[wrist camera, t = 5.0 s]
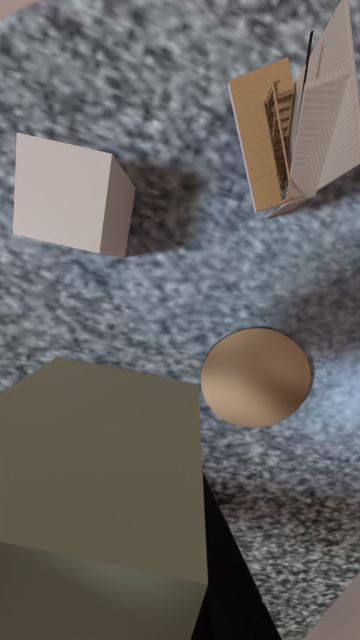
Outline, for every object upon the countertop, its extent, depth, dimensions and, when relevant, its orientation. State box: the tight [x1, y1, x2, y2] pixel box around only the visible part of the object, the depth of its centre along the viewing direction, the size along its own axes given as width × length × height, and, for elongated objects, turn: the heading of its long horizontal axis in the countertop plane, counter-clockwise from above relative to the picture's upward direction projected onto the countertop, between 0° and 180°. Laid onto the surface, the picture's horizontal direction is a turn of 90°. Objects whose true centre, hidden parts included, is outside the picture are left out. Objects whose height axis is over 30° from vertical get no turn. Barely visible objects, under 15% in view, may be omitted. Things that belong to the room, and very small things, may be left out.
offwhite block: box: [13, 133, 136, 258], centre depth 14 cm, size 5×5×5 cm
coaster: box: [201, 327, 311, 428], centre depth 19 cm, size 9×9×1 cm
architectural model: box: [228, 0, 360, 219], centre depth 12 cm, size 3×7×7 cm, turn 17°
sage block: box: [0, 357, 208, 640], centre depth 6 cm, size 5×5×5 cm
